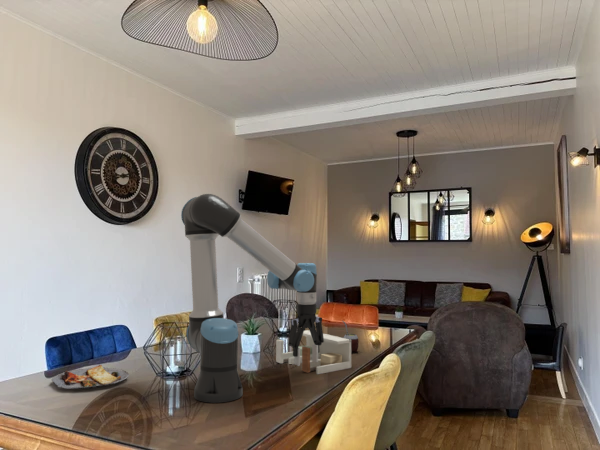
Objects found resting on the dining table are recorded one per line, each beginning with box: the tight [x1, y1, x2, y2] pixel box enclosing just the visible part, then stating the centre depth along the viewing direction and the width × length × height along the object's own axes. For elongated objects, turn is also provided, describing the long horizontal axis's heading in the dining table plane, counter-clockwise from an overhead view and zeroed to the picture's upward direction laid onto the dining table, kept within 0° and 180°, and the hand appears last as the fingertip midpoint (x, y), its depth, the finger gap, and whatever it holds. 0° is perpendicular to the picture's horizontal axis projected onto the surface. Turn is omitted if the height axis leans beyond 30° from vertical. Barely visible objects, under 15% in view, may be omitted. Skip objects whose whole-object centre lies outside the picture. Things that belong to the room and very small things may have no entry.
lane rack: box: [283, 329, 352, 375], centre depth 190 cm, size 17×28×11 cm, turn 37°
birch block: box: [301, 347, 342, 373], centre depth 181 cm, size 16×6×9 cm, turn 126°
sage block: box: [275, 339, 312, 364], centre depth 195 cm, size 16×6×9 cm, turn 127°
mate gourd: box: [342, 320, 359, 355], centre depth 212 cm, size 8×8×15 cm
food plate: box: [51, 364, 130, 390], centre depth 161 cm, size 25×23×4 cm
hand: (306, 363), depth 176 cm, fingers open, 8 cm apart
